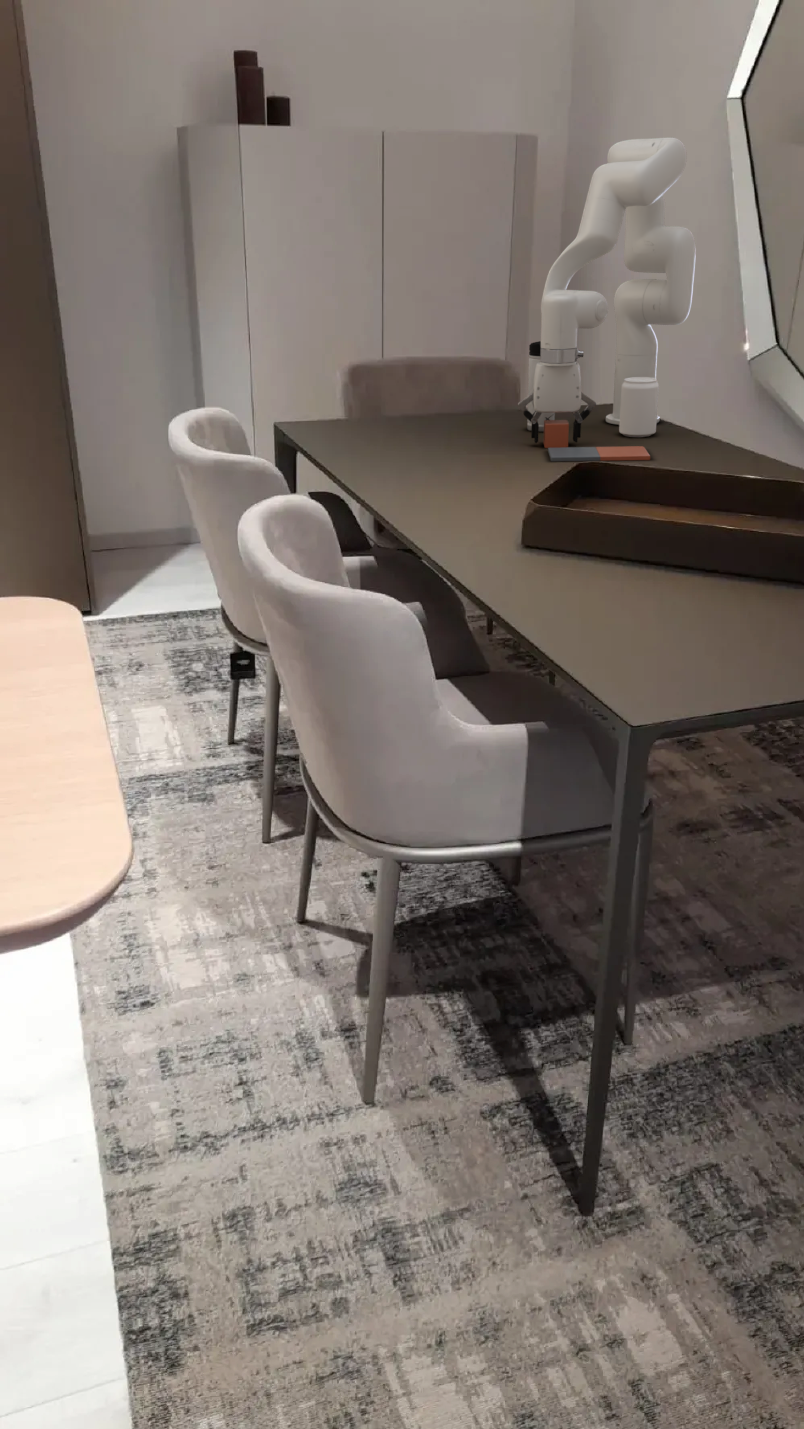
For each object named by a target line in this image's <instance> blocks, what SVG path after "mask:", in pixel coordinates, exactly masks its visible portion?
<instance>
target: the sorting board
mask: <svg viewBox="0 0 804 1429" xmlns="http://www.w3.org/2000/svg"><path fill="white" fill-rule="evenodd" d="M547 453H548V455H549V460H550V462H597V461H598V462H599V461H600V462H601V461H602V462H603V461H605V462H606V461H608V462H609V461H651V455H650V454H649V452H648V450H647V449H646V447H645V446H644V445H639V446H638V445H636V446H635V445H633V446H631V445H629V446H627V445H626V446H576V447H575V446H568V447H561V448H547Z"/></svg>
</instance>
